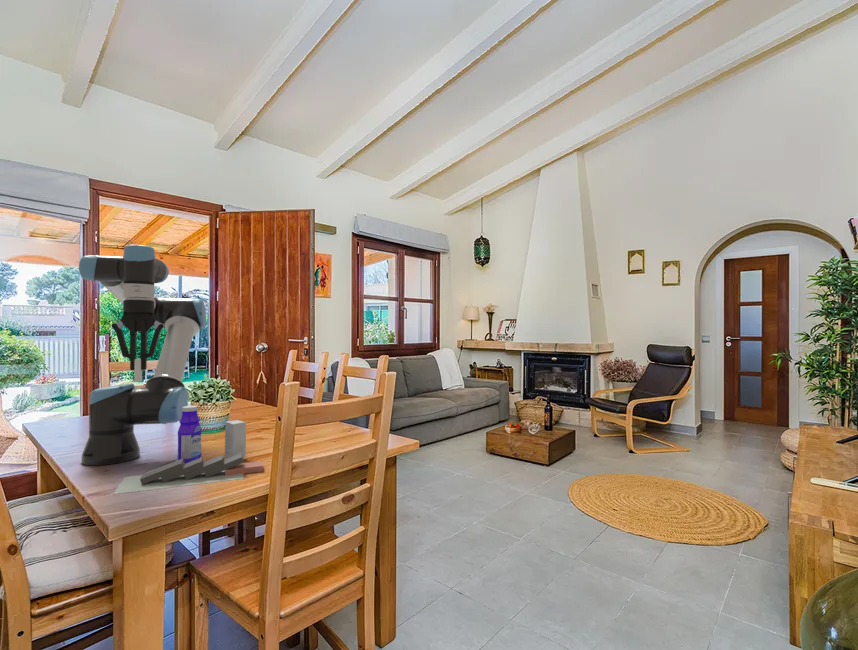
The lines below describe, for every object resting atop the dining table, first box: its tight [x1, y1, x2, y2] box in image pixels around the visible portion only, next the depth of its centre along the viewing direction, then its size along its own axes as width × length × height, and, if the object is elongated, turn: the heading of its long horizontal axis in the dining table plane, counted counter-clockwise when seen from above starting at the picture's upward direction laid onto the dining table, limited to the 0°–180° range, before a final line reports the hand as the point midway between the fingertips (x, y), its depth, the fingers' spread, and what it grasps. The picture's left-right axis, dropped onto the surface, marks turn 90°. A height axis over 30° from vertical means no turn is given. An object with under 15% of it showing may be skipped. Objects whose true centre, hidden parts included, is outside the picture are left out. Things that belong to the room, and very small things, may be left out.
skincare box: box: [224, 419, 247, 460], centre depth 143 cm, size 6×4×12 cm
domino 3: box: [184, 454, 225, 480], centre depth 126 cm, size 2×5×10 cm
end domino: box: [225, 460, 264, 476], centre depth 130 cm, size 2×5×10 cm
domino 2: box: [161, 456, 205, 483], centre depth 124 cm, size 2×5×10 cm
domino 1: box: [140, 459, 185, 485], centre depth 122 cm, size 2×5×10 cm
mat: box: [113, 470, 245, 495], centre depth 124 cm, size 30×14×1 cm, turn 114°
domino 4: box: [205, 453, 245, 478], centre depth 128 cm, size 2×5×10 cm
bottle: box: [177, 405, 202, 463], centre depth 140 cm, size 7×6×17 cm
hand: (138, 381), depth 129 cm, fingers closed
